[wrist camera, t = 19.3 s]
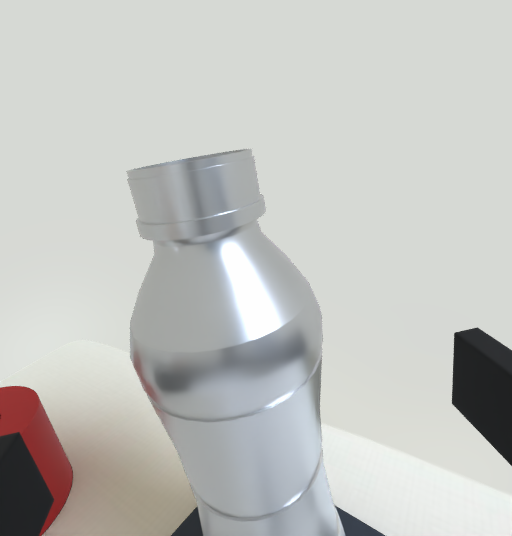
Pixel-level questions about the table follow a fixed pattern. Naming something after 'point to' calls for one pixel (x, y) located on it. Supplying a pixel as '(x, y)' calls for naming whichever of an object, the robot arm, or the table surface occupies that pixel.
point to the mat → (354, 529)
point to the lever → (37, 442)
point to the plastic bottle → (230, 350)
